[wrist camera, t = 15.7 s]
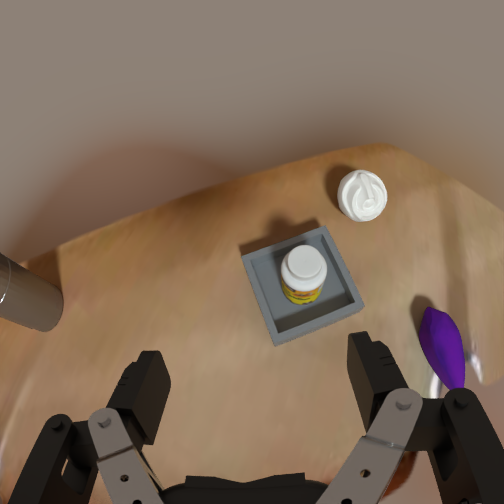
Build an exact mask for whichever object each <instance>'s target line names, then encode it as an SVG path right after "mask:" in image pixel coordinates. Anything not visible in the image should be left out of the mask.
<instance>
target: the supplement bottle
mask: <svg viewBox="0 0 504 504" xmlns="http://www.w3.org/2000/svg"><path fill="white" fill-rule="evenodd" d="M326 275H327V264H326V261H325V259H324V257H323V256H322V255H321V254H320V253H319V251H318V250H317V249H316V248H314V247H312V246H309V245H300V246H297V247H295V248H294V249H293V250H292V251H290V252H289V253H288V254H287V255H286V256H285V257H284V259H283V261H282V264H281V279H282V290H283V294H284V296H285V297H286V299H287V300H288V301H289V302H291V303H293V304H295V305H299V306H304V305H309V304H311V303H313V302H314V301H315V300H316V299H317V298H318V297H319V295H320V293H321V290H322V287H323V284H324V281H325V278H326Z"/></svg>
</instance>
